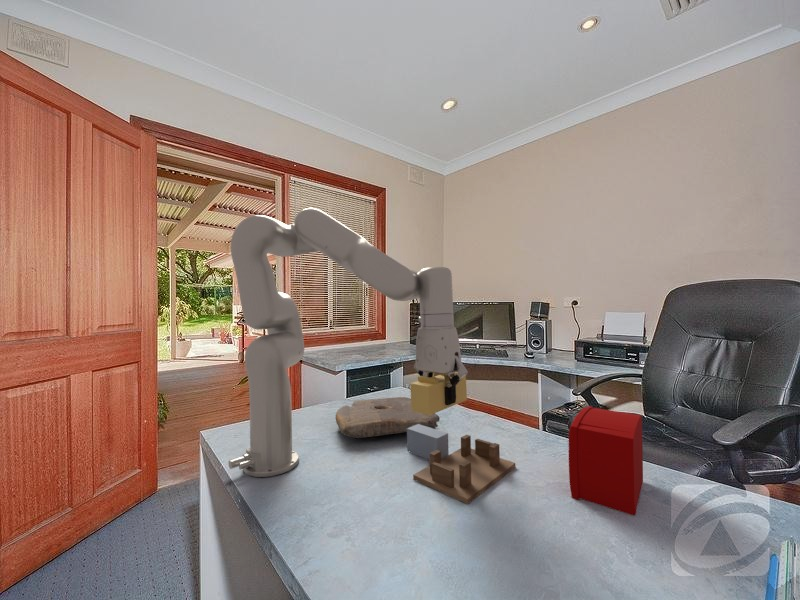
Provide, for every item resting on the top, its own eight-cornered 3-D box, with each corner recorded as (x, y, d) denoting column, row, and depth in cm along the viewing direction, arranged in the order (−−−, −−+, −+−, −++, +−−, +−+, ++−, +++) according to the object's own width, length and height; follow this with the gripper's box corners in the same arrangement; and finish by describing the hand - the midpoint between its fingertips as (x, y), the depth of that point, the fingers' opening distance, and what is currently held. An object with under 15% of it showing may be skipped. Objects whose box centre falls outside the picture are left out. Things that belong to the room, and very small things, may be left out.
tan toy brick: (429, 415, 72) (427, 381, 72) (411, 410, 76) (410, 378, 76) (466, 400, 82) (465, 370, 82) (449, 396, 86) (448, 368, 86)
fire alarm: (587, 466, 81) (585, 401, 81) (643, 480, 74) (641, 410, 74) (569, 497, 68) (567, 421, 68) (634, 518, 61) (633, 433, 61)
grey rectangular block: (437, 463, 84) (437, 438, 84) (407, 451, 91) (406, 428, 91) (448, 457, 87) (448, 433, 87) (418, 446, 94) (418, 423, 94)
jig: (467, 504, 66) (467, 475, 66) (413, 479, 76) (412, 454, 76) (515, 467, 81) (515, 443, 81) (464, 450, 91) (464, 429, 91)
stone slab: (445, 435, 101) (444, 414, 101) (345, 451, 91) (345, 428, 91) (407, 406, 130) (406, 390, 130) (328, 416, 120) (328, 398, 120)
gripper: (398, 322, 82) (402, 399, 82) (458, 323, 70) (462, 413, 70) (419, 320, 88) (422, 392, 88) (478, 320, 76) (482, 404, 76)
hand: (440, 400), depth 79 cm, fingers closed on tan toy brick, 5 cm apart
